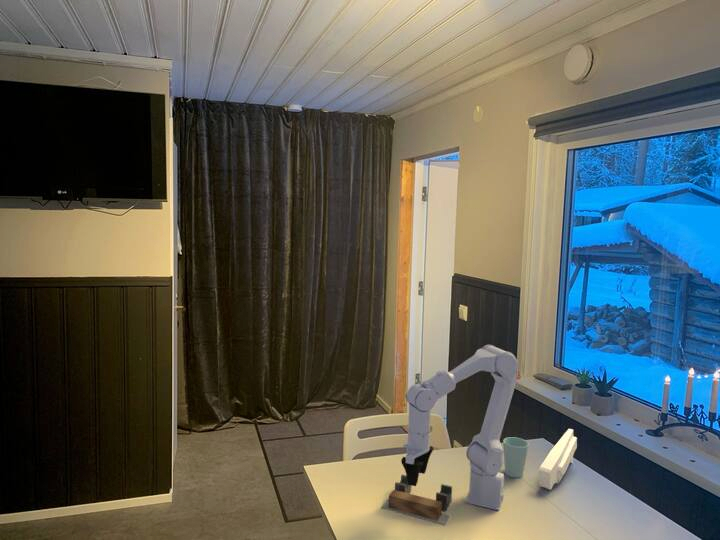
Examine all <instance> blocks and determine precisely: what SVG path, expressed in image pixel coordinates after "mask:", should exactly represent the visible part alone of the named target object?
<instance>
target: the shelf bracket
mask: <svg viewBox="0 0 720 540" xmlns="http://www.w3.org/2000/svg"><path fill="white" fill-rule="evenodd" d="M577 441H578V437H576V436H574V429H572V428H568V429H567V430H566V431H565V432H564V433H563V435H562V436H561V438H560V439H559V440H558V441H557V443H556V444H555V445H554V446H553V447H552V449H550V451H549V453H548V455H547V456H546V457H545V459H544V461H543V462H542V463H541V465H540V467H539V469H538V471H539V472H538V473H539V474H538V475H539V477H538V478H539V480H538V482H539V484H538V486H539V487H542V488H544V489H548V490H550V491H551V490H552V488H553V486H555V484H559V483H560V482H561V480H562V478H563V476H564V475H565V474H566V472H567V469H568V468H569V465H570V464H573V463H574V454H575V452H576V450H577V447H578V442H577Z"/></svg>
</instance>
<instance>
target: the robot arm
mask: <svg viewBox="0 0 720 540" xmlns="http://www.w3.org/2000/svg"><path fill="white" fill-rule="evenodd" d="M518 365H519V361H518V359H517V357H516V356H515V355H514V354H513V352H510V351H505V350H503V349H501V348H499V347H496V346H495V345H492V344H486V345H484V346H482V347H481V348H479V349H477V350H476V351H475V353H474V355H472V356H471V357H469V358H468V359H466V360H465V361H463V362H462V363H460V364H459V365H458V366H455V368H453V369H452V370H450V371H447V370H441V371H440V370H439V371H437V372H436V373H435V375H433V376H431V378H428V379H427V380H423V381H422V382H421V384H420V383H416V384H412V385H411V386H410V387H409V388H408V390H407V393H405V400H406V401H407V404H408V424H407V425H408V426H407V428H408V429H407V441H405V442H403V444H402V445H403V446H402V447H404V448H406V455H405V456H402V458H401V460H400V462H401V465H402V466H403V469H404V472H405V475H406V476H407V481H408V485H411V487H416V486H417V485H418V482H419V475H420V474H422V475H425V473H426V470H427V467H428V464H429V460H430V456H431V454H432V453H433V451H434V447H433V446H431V445H430V434H431V431H430V430H431V410H432V409H433V408H434V407H435V405H436V403H437V401H439V399H441V398H442V397H444V396H446V395H448V394H449V393H451V392H452V391H454V390H455V389H456V385H457V383H459V382H461V381H464V380H465V379H467V378H469V377H471V376H473V375H475V374H476V373H479V372H489V373H490V374H491V376H492V377H493V378H494V381H495V382H494V385H493V387H492V388H493V389H492V391H491V395H490V399H489V402H488V406H487V409H486V412H485V416H484V418H483V419H484V420H483V422H482V425H481V429H480V433H478V434H476V435H474V436H473V437H472V441H471V443H470V444H469V445H468V446H467V448H466V451H465V454H466V455H465V456H466V458H467V460H468V461H469V466H470V471H469V488H468V489H469V490H468V494H467V495H466V498H465V499H464V502H465V504H466V503H467V504H471V505H475V506H478V507H483V508H486V509H490V510H495V511H499V510H500V508H501V506H502V502H503V500H504V488H505V474H504V472H503V473H502V472H500V471H501V469H502V468H503V462H504V461H503V456H504V448H503V446H502V444H501V441H500V439H501V436H502V432H503V429H504V426H505V425H504V424H505V422H506V418H507V415H508V412H509V408H510V405H511V401H512V397H513V395H514V391H515V388H516V384H517V381H518V379H517V370H518V367H519V366H518Z"/></svg>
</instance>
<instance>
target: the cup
mask: <svg viewBox="0 0 720 540" xmlns="http://www.w3.org/2000/svg"><path fill="white" fill-rule="evenodd" d="M502 441H503V458H504V459H503V460H504V461H503V462H504V473H505V475H507V476H508V477H510V478H521V477H523V476H524V471H525V468H526V467H525V466H526V461H527V456H528V449H529V445H530V444H529V442H528V441H527V440H525V439H523V438H520V437H514V436H513V437H512V436H511V437H505V438H503V440H502Z"/></svg>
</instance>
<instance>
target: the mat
mask: <svg viewBox="0 0 720 540" xmlns="http://www.w3.org/2000/svg"><path fill="white" fill-rule="evenodd" d="M388 505H389V498H387V499H386V500H385V501H384V502H383V504H381V507H380V509H382V510H385V511H386V510H387V511H389V512H394V513H397V514H401V515H405V516H409V517H413V518H417V519H420V520H424V521H427V522H432V523H436V524H439V525H442V526H446V525H447V522H448V521H449V518H450V516H451V514H448V513H445V512H442V514H441V516H440V518H439V520H438V521H437V520H433V519H429V518H426V517H422V516H418V515H414V514H411V513H407V512H403V511H399V510H395V509H392V508H388Z"/></svg>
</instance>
